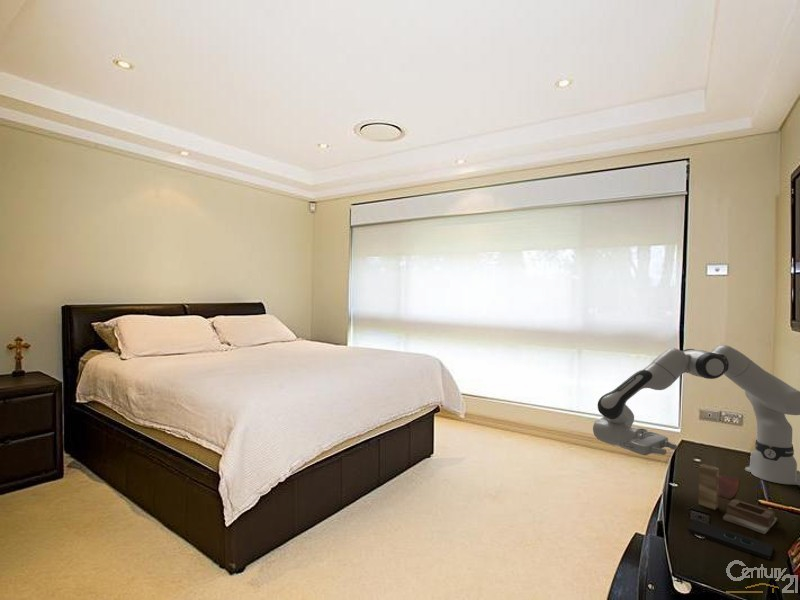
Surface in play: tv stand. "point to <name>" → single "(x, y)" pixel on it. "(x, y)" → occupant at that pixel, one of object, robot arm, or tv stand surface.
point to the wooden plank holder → (750, 516)
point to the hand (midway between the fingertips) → (671, 450)
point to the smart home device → (731, 539)
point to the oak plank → (708, 486)
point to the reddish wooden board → (727, 486)
